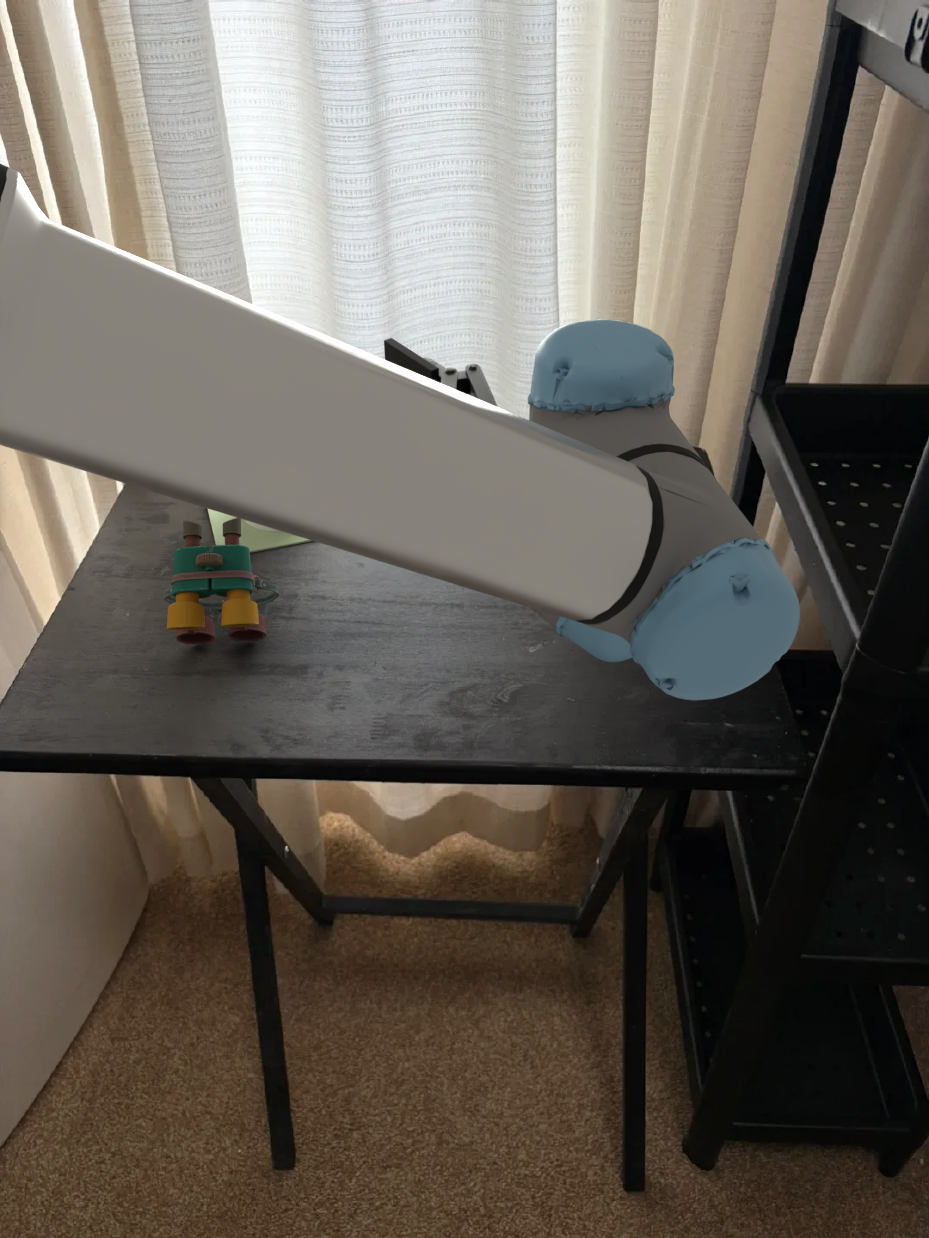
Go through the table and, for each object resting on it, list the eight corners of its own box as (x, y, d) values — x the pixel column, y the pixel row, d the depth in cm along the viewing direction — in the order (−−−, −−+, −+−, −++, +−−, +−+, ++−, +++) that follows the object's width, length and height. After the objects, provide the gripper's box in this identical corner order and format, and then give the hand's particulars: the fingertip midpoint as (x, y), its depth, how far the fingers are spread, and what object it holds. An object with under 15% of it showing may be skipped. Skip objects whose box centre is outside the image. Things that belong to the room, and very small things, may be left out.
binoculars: (174, 656, 89) (144, 625, 79) (174, 554, 91) (146, 512, 82) (285, 649, 89) (269, 618, 80) (282, 548, 92) (266, 506, 82)
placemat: (219, 559, 95) (218, 557, 95) (202, 487, 104) (202, 486, 104) (368, 530, 98) (368, 528, 98) (340, 463, 107) (340, 461, 107)
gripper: (332, 616, 68) (183, 471, 80) (612, 483, 79) (443, 375, 92) (322, 522, 63) (165, 383, 75) (622, 395, 74) (442, 293, 87)
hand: (317, 378), depth 83 cm, fingers open, 13 cm apart
